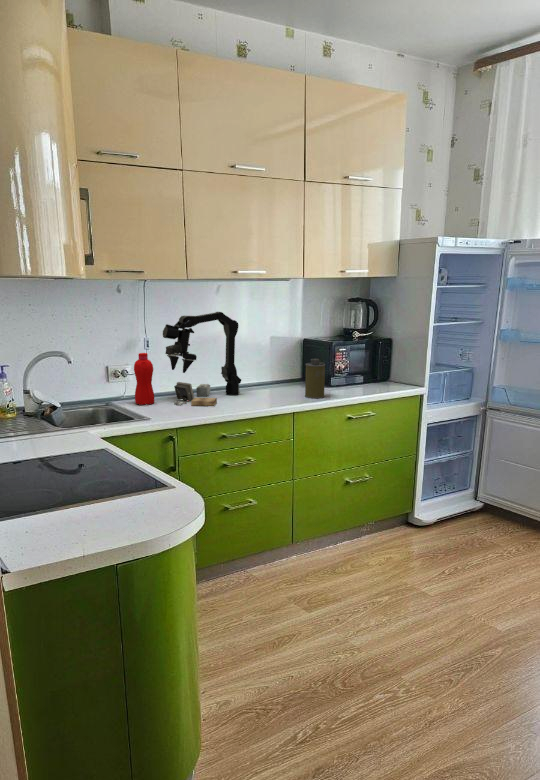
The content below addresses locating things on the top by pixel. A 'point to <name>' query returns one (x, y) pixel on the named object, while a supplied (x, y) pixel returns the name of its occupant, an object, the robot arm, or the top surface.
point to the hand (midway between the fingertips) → (178, 371)
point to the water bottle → (144, 380)
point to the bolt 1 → (177, 403)
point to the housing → (203, 390)
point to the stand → (203, 401)
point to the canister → (315, 379)
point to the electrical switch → (184, 391)
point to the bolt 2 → (181, 402)
